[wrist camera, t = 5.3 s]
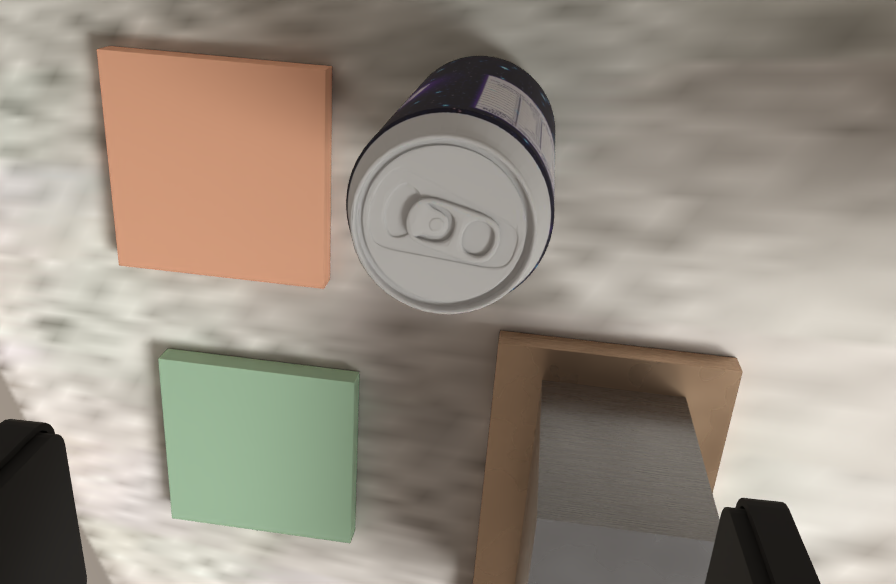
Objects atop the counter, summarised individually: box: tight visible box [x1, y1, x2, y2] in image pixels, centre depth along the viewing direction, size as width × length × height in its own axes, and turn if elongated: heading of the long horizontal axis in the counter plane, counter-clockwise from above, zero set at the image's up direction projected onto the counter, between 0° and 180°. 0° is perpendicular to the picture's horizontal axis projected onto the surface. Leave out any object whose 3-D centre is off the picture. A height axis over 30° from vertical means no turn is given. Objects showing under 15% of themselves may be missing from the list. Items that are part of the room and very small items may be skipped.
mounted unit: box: [473, 330, 742, 584], centre depth 34 cm, size 16×10×10 cm, turn 176°
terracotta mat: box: [97, 46, 332, 289], centre depth 33 cm, size 9×9×1 cm
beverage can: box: [346, 56, 555, 314], centre depth 26 cm, size 6×6×12 cm
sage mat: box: [158, 349, 359, 543], centre depth 39 cm, size 9×9×1 cm
